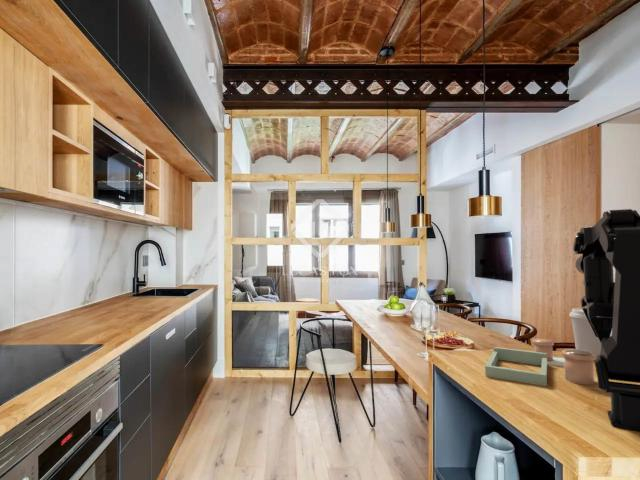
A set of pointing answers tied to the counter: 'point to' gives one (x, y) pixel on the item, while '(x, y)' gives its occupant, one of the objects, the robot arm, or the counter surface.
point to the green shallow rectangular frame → (515, 374)
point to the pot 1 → (544, 347)
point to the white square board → (557, 361)
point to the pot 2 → (579, 366)
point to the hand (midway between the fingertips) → (601, 341)
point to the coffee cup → (584, 333)
